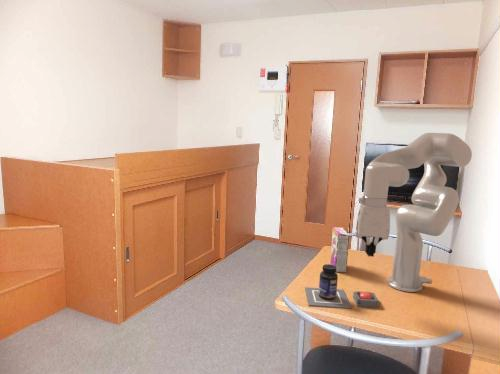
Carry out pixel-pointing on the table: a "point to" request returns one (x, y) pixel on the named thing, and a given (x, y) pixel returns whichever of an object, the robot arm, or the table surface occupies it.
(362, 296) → the button
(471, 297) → the table surface
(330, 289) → the pill bottle
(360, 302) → the button housing
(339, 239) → the candy bar box
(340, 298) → the gray square pad
